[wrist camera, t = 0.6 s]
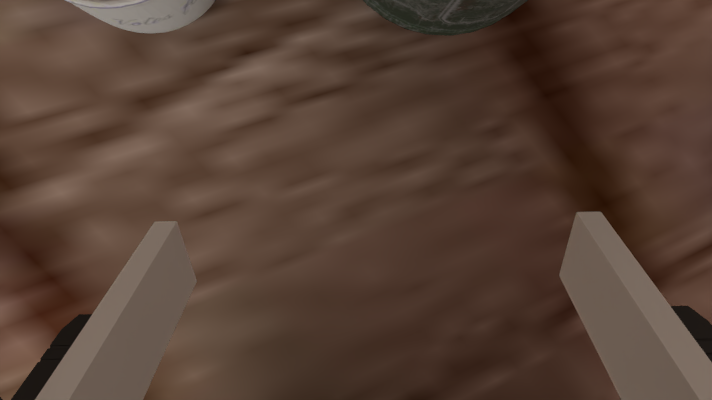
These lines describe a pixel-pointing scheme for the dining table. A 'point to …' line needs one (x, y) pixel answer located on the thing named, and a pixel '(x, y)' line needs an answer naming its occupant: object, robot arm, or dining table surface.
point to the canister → (444, 14)
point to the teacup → (145, 13)
